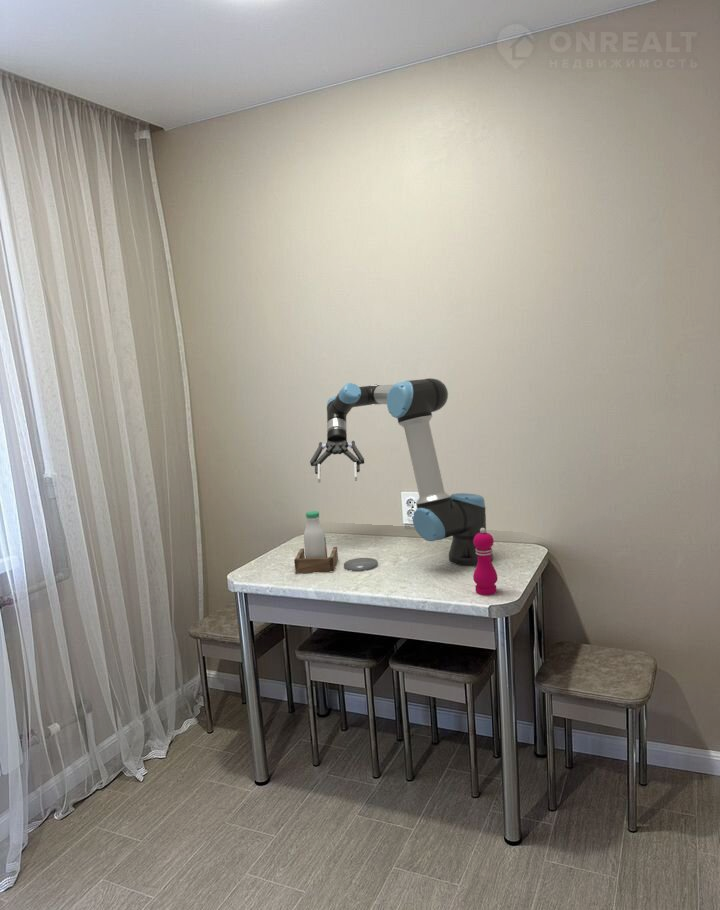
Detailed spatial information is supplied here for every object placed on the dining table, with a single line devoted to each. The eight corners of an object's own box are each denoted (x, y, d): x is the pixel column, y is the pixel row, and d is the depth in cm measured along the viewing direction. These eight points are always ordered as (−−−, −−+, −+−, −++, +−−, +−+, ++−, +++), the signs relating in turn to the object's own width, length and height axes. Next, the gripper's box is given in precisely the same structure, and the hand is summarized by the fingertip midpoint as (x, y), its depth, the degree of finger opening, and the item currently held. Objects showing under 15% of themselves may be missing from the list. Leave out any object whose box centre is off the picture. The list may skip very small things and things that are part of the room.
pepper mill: (471, 595, 212) (468, 530, 209) (476, 586, 218) (473, 524, 215) (495, 596, 209) (492, 531, 206) (500, 588, 216) (497, 524, 213)
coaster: (383, 566, 245) (383, 563, 245) (352, 573, 240) (352, 570, 240) (368, 558, 256) (368, 555, 256) (338, 564, 251) (338, 562, 251)
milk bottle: (325, 570, 246) (320, 514, 243) (303, 570, 248) (298, 515, 245) (330, 563, 254) (325, 509, 250) (309, 563, 255) (304, 509, 252)
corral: (333, 572, 243) (332, 558, 243) (295, 573, 245) (294, 560, 244) (338, 559, 257) (336, 546, 256) (301, 561, 258) (300, 548, 257)
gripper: (369, 436, 275) (371, 483, 263) (305, 439, 275) (304, 486, 263) (368, 425, 268) (370, 472, 257) (303, 428, 269) (302, 476, 257)
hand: (337, 479), depth 260 cm, fingers open, 13 cm apart
